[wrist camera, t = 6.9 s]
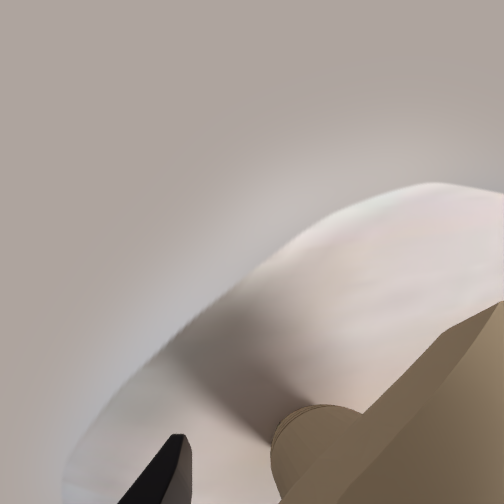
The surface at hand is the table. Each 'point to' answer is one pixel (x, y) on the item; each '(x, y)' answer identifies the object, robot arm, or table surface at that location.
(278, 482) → the handle
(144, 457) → the table surface
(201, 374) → the table surface
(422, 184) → the table surface
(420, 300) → the table surface
